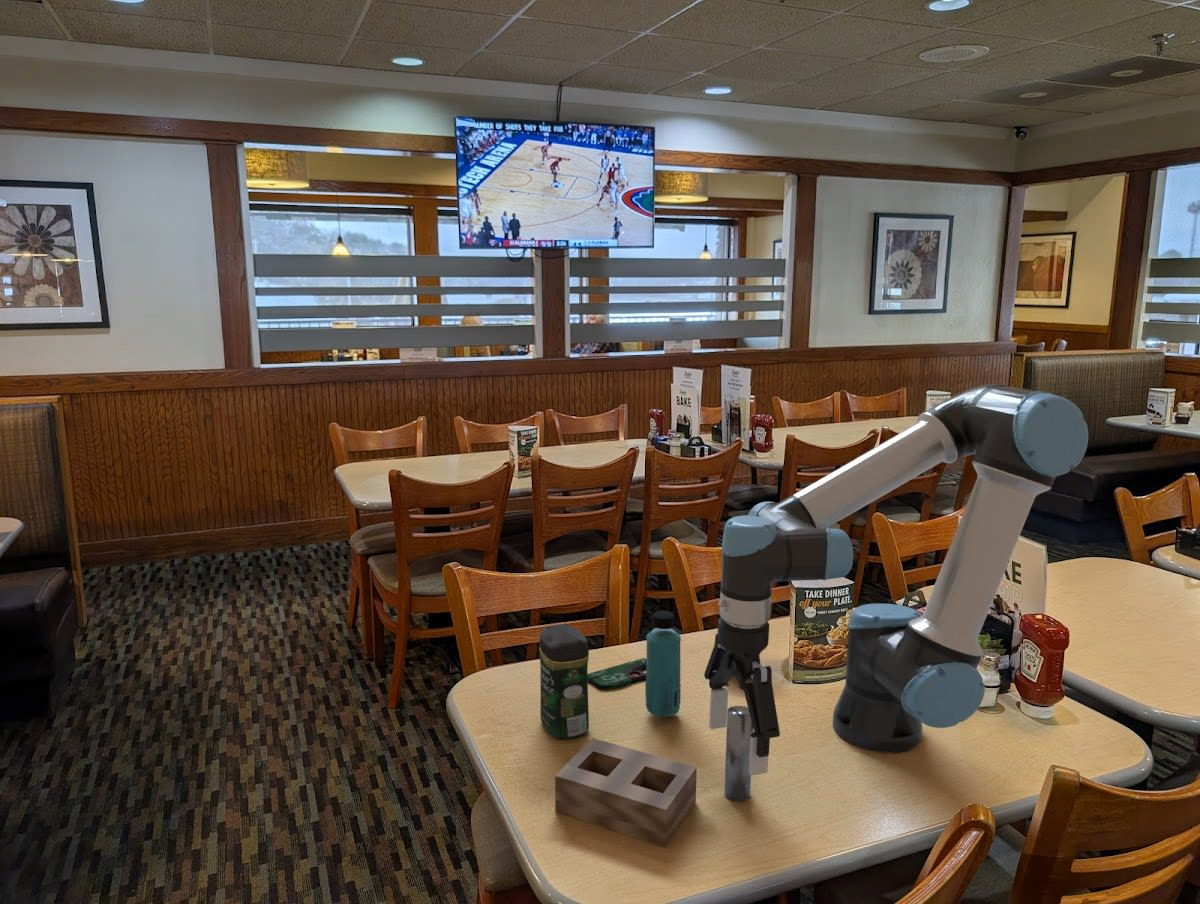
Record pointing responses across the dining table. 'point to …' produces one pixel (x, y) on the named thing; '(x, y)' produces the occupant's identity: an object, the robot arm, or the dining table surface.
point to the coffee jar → (564, 681)
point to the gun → (619, 675)
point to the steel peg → (738, 754)
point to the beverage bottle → (663, 666)
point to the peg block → (626, 791)
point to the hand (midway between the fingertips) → (736, 749)
